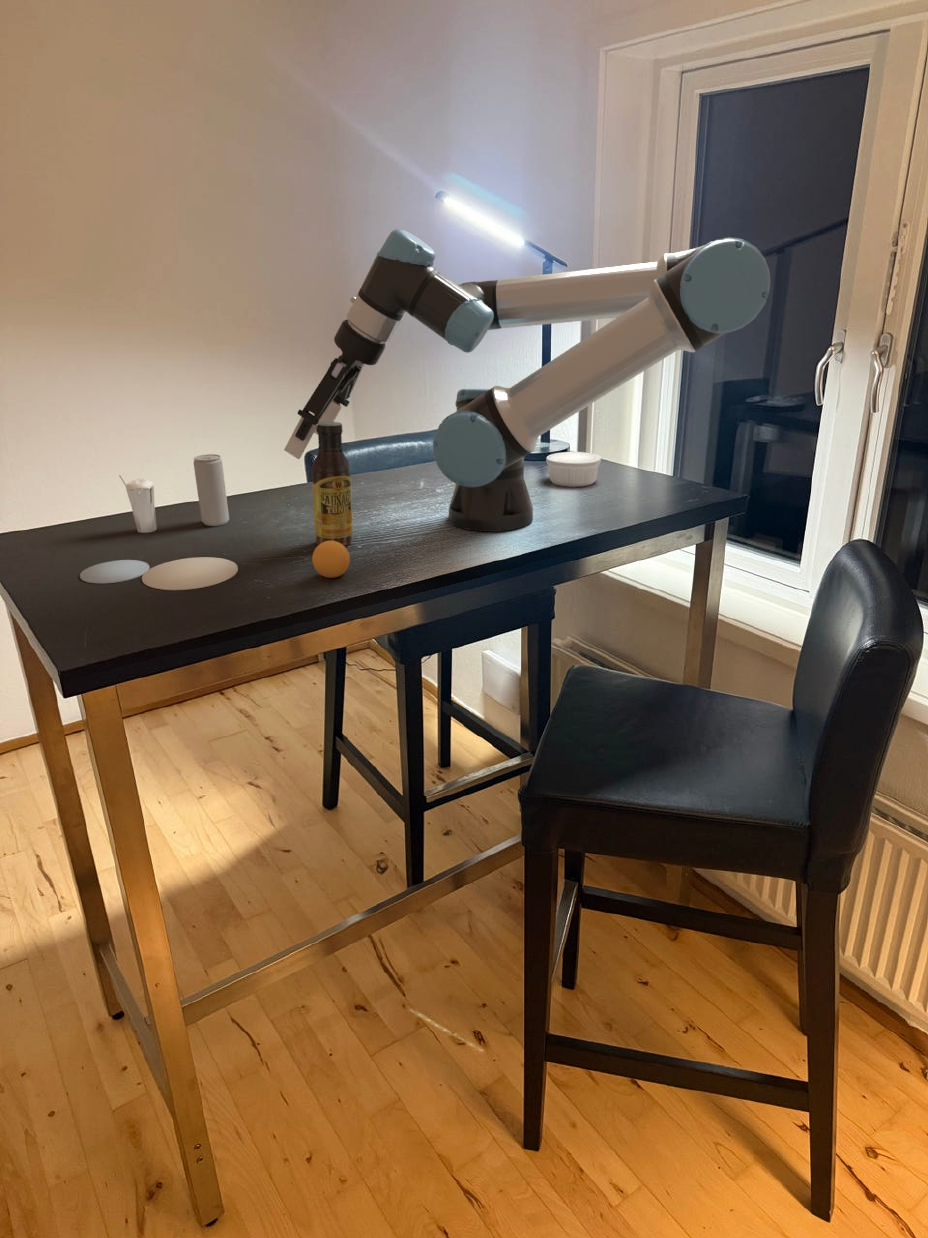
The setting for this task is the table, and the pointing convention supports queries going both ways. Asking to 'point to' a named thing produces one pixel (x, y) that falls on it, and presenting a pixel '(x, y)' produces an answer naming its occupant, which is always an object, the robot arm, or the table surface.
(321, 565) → the ball
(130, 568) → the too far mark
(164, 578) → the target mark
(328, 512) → the sauce bottle
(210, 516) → the beverage can
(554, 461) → the ramekin
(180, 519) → the table surface
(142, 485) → the milkshake
